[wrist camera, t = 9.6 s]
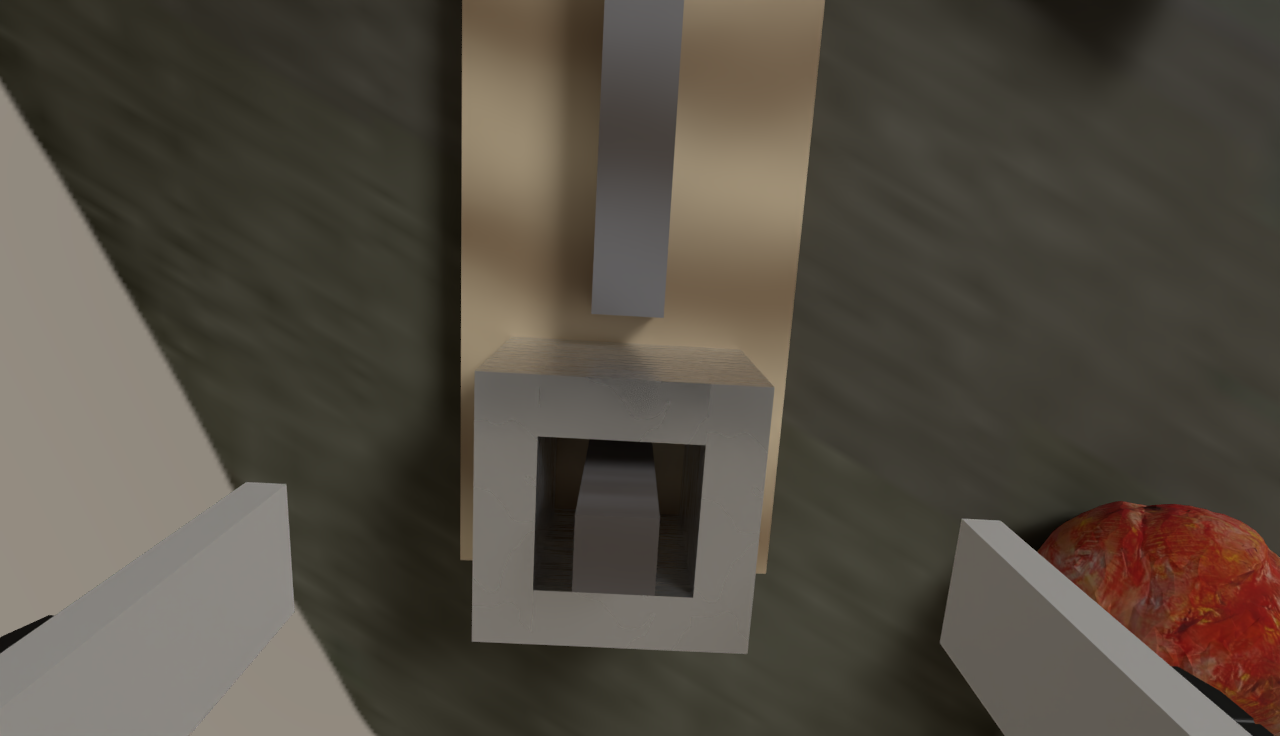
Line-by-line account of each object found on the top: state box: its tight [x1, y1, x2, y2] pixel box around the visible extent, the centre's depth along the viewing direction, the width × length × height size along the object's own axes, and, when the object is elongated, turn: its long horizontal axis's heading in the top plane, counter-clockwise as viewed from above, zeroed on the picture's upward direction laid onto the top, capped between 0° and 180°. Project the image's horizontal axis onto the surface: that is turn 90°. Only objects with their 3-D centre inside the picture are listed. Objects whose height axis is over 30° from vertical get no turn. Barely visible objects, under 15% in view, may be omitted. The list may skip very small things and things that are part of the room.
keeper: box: [460, 0, 825, 596], centre depth 18 cm, size 20×10×8 cm, turn 177°
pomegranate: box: [1037, 501, 1280, 735], centre depth 21 cm, size 7×7×10 cm
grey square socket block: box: [472, 337, 775, 654], centre depth 19 cm, size 7×7×5 cm
